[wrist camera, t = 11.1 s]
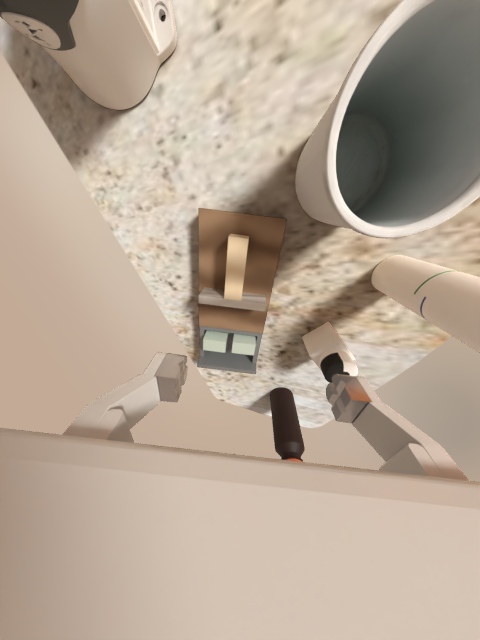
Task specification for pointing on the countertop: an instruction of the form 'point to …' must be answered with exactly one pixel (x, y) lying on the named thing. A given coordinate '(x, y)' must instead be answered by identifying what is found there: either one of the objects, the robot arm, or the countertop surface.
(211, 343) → the tile
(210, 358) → the box
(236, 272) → the scraper
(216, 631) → the robot arm
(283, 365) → the countertop surface
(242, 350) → the tile
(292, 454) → the vinegar
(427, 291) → the cylindrical container
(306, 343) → the medicine bottle
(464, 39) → the utensil holder
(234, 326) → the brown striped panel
